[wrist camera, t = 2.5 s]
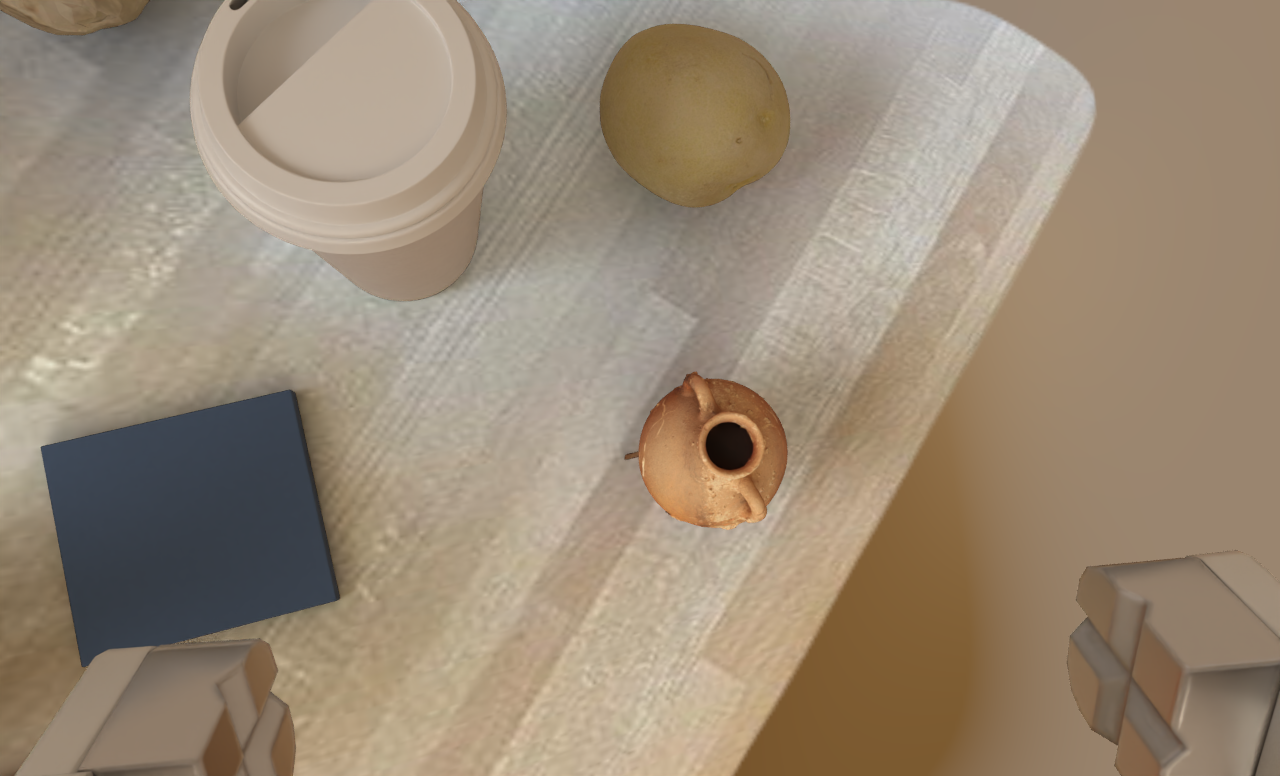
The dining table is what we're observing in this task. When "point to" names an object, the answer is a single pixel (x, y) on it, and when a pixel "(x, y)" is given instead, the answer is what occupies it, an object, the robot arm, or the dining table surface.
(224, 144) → the coffee cup
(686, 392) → the pot
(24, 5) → the skull
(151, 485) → the blue mat
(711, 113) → the potato
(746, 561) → the dining table surface
